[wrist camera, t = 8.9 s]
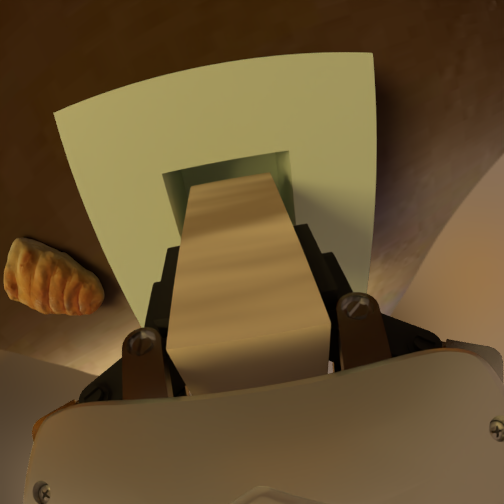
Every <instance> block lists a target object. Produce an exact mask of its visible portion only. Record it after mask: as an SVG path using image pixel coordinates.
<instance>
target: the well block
mask: <svg viewBox="0 0 504 504" xmlns="http://www.w3.org/2000/svg"><path fill="white" fill-rule="evenodd" d="M54 116H55V120H56V123H57V127H58V130H59V133H60V137H61V140H62V143H63V146H64V149H65V152H66V156H67V159H68V162H69V165H70V167H71V170H72V173H73V176H74V179H75V182H76V184H77V187H78V190H79V192H80V195H81V198H82V200H83V203H84V205H85V208H86V211H87V213H88V216H89V218H90V220H91V223H92V225H93V228H94V230H95V232H96V235H97V237H98V239H99V242H100V244H101V246H102V248H103V251H104V253H105V255H106V257H107V259H108V262H109V264H110V266H111V268H112V270H113V272H114V274H115V276H116V278H117V280H118V283H119V285H120V287H121V289H122V291H123V293H124V295H125V297H126V298H127V300H128V302H129V304H130V306H131V308H132V310H133V312H134V314H135V316H136V318H137V319H138V321H139V323H140V325H141V327H142V328H144V325H145V320H146V315H147V310H148V305H149V300H150V295H151V291H152V286H153V283H155V282H159V281H161V277H162V272H163V267H164V262H165V257H166V253H167V249H168V248H170V247H175V246H180V243H181V237H182V231H183V225H184V220H185V214H186V209H187V203H188V198H189V193H190V188H191V186H195V185H200V184H205V183H210V182H216V181H221V180H227V179H232V178H238V177H244V176H250V175H256V174H262V173H268V172H270V173H271V176H272V178H273V180H274V183H275V185H276V187H277V189H278V192H279V194H280V196H281V199H282V201H283V203H284V206H285V208H286V211H287V213H288V215H289V218H290V220H291V223H292V225H293V226H294V225H300V224H306V223H307V224H308V226H309V228H310V230H311V232H312V234H313V236H314V238H315V240H316V242H317V244H318V247H319V249H320V251H321V253H327V252H333V254H334V255H335V257H336V259H337V261H338V263H339V265H340V267H341V269H342V271H343V273H344V275H345V277H346V279H347V280H348V282H349V284H350V286H351V288H352V290H353V292H362V293H366V294H367V287H368V278H369V270H370V260H371V250H372V239H373V226H374V211H375V192H376V153H377V134H376V97H375V78H374V64H373V53H357V52H326V53H303V54H289V55H277V56H268V57H259V58H251V59H244V60H237V61H230V62H224V63H218V64H213V65H207V66H202V67H197V68H192V69H188V70H183V71H179V72H175V73H171V74H166V75H162V76H159V77H155V78H151V79H147V80H144V81H140V82H137V83H134V84H130V85H127V86H124V87H121V88H118V89H114V90H111V91H108V92H106V93H103V94H100V95H97V96H94V97H92V98H89V99H86V100H84V101H81V102H79V103H76V104H74V105H71V106H69V107H66V108H64V109H62V110H59V111H57V112H55V113H54Z"/></svg>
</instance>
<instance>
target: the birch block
mask: <svg viewBox="0 0 504 504" xmlns="http://www.w3.org/2000/svg"><path fill="white" fill-rule="evenodd" d="M330 331H331V322H330V319H329V316H328V314H327V311H326V308H325V306H324V303H323V300H322V298H321V295H320V292H319V290H318V287H317V285H316V282H315V280H314V277H313V274H312V272H311V269H310V267H309V264H308V262H307V259H306V257H305V254H304V252H303V249H302V247H301V244H300V242H299V240H298V237H297V235H296V232H295V230H294V227H293V225H292V223H291V220H290V218H289V215H288V213H287V211H286V208H285V206H284V203H283V201H282V199H281V196H280V194H279V192H278V189H277V187H276V185H275V183H274V180H273V178H272V176H271V173H270V172H268V173H262V174H256V175H250V176H244V177H238V178H232V179H227V180H221V181H216V182H210V183H205V184H200V185H195V186H191V188H190V193H189V198H188V203H187V209H186V214H185V220H184V225H183V231H182V237H181V243H180V249H179V255H178V262H177V268H176V275H175V282H174V289H173V296H172V303H171V311H170V319H169V327H168V335H167V344H166V351H167V352H168V354H169V356H170V358H171V360H172V361H173V363H174V365H175V367H176V368H177V370H178V372H179V374H180V375H181V377H182V379H183V381H184V382H185V384H186V386H187V387H188V389H189V391H190V392H191V394H192V395H202V394H211V393H220V392H228V391H235V390H243V389H250V388H256V387H262V386H269V385H275V384H280V383H286V382H291V381H296V380H302V379H307V378H312V377H316V376H321V375H326V374H328V361H329V347H330Z"/></svg>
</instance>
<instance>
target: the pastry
mask: <svg viewBox="0 0 504 504" xmlns="http://www.w3.org/2000/svg"><path fill="white" fill-rule="evenodd" d="M4 289H5V291H6V292H7V294H8V296H9V298H10V299H11V300H15V301H20V302H21V303H23V304H26V305H28V306H29V307H30V308H32V309H36V310H38V311H39V312H41V313H43V314H50V313H52V314H68V315H84V314H92V313H93V312H95V311H96V310H97V309H98V308H99V307H100V306H101V304H102V302H103V300H104V290H103V287H102V285H101V283H100V281H99V279H98V277H97V276H96V275H94V274H93V273H92V272H91V271H89V270H86V269H85V268H83V267H82V266H81V265H80V264H79V263H77V262H76V261H75V260H73V258H72V257H71V256H70V255H68V254H67V253H65V252H60V251H58V250H56V249H54V248H51V247H49V246H47V245H45V244H43V243H41V242H38V241H35V240H33V239H28V238H17V239H16V240H15V241H14V242H13V244H12V246H11V249H10V252H9V254H8V261H7V264H6V267H5V270H4Z"/></svg>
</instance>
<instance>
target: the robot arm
mask: <svg viewBox="0 0 504 504" xmlns="http://www.w3.org/2000/svg"><path fill="white" fill-rule="evenodd" d="M293 227H294V230H295V232H296V235H297V237H298V240H299V242H300V244H301V247H302V249H303V252H304V254H305V257H306V259H307V262H308V264H309V267H310V269H311V272H312V274H313V277H314V280H315V282H316V285H317V287H318V290H319V292H320V295H321V298H322V300H323V303H324V306H325V308H326V311H327V314H328V316H329V319H330V322H331V331H330V347H329V360H330V361H332V366H333V373H330V374H326V375H321V376H316V377H312V378H307V379H302V380H296V381H291V382H286V383H280V384H275V385H269V386H262V387H256V388H250V389H243V390H235V391H228V392H220V393H211V394H202V395H192V396H190V393H189V389H188V387H187V386H186V384H185V382H184V381H183V379H182V377H181V375H180V374H179V372H178V370H177V368H176V367H175V365H174V363H173V361H172V360H171V358H170V356H169V354H168V352H167V351H166V344H167V335H168V327H169V319H170V311H171V303H172V296H173V289H174V282H175V275H176V268H177V262H178V255H179V249H180V246H175V247H170V248H168V249H167V253H166V257H165V262H164V267H163V272H162V277H161V281H159V282H155V283H153V286H152V291H151V295H150V300H149V305H148V310H147V315H146V320H145V325H144V328H139V329H137V330H134V331H133V332H131V333H130V334H129V335H128V336H127V337H126V338H125V340H124V342H123V346H122V358H121V359H119V360H118V361H117V362H116V363H115V364H113V365H112V366H111V367H110V368H109V369H107V370H106V371H105V372H104V373H102V374H101V375H100V376H99V377H98V378H96V379H95V380H94V381H93V382H91V383H90V384H89V385H88V386H87V387H86V388H85V389H84V390H83V391H82V393H81V394H80V397H79V400H78V401H77V402H76V401H75V400H72V401H70V402H69V403H67V404H65V405H63V406H61V407H60V408H58V409H56V410H54V411H53V412H51V413H49V414H47V415H45V416H44V417H42V418H40V419H39V420H38V421H36V423H35V424H34V426H33V429H32V438H33V441H34V443H33V447H32V451H31V455H30V459H29V464H28V469H27V474H26V481H25V489H24V497H23V504H504V385H503V361H502V356H501V355H500V353H499V352H498V351H497V350H496V349H494V348H492V347H489V346H483V345H477V344H471V343H466V342H460V341H454V340H449V339H447V340H446V342H442V341H441V340H440V339H439V337H437V336H436V335H435V334H434V333H432V332H430V331H428V330H425V329H422V328H419V327H417V326H414V325H411V324H409V323H406V322H403V321H401V320H398V319H395V318H393V317H390V316H387V315H385V314H382V313H381V312H380V308H379V305H378V303H377V301H376V300H375V299H374V298H373V297H372V296H370V295H368V294H366V293H362V292H353V290H352V288H351V286H350V284H349V282H348V280H347V279H346V277H345V275H344V273H343V271H342V269H341V267H340V265H339V263H338V261H337V259H336V257H335V255H334V254H333V252H327V253H321V251H320V249H319V247H318V244H317V242H316V240H315V238H314V236H313V234H312V232H311V230H310V228H309V226H308V224H307V223H306V224H300V225H294V226H293Z"/></svg>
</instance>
